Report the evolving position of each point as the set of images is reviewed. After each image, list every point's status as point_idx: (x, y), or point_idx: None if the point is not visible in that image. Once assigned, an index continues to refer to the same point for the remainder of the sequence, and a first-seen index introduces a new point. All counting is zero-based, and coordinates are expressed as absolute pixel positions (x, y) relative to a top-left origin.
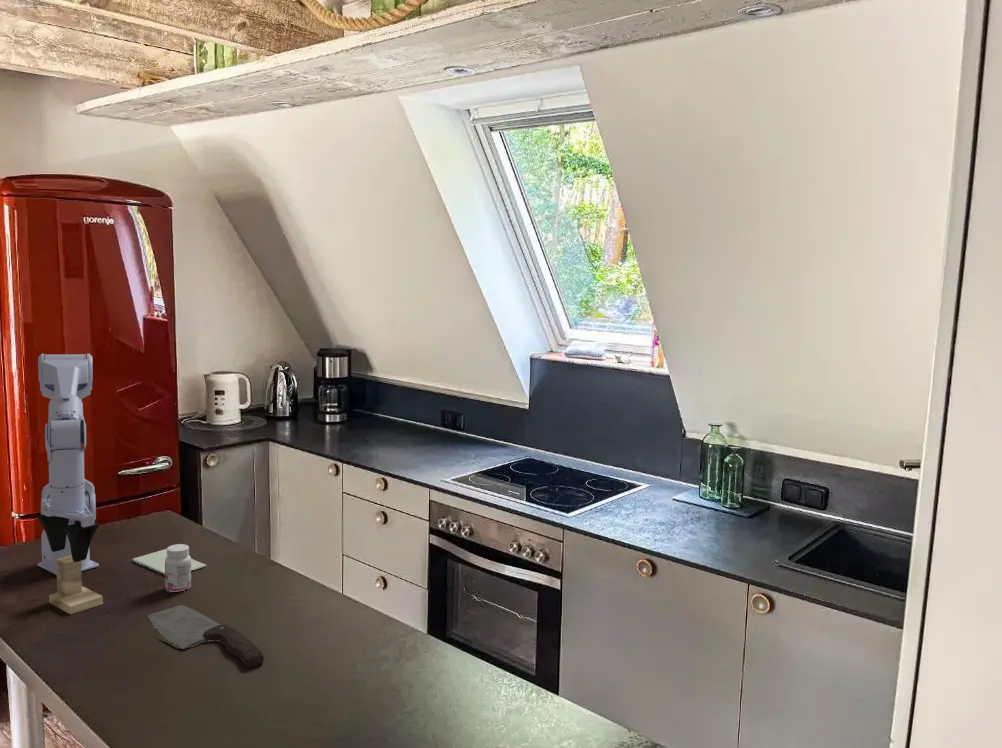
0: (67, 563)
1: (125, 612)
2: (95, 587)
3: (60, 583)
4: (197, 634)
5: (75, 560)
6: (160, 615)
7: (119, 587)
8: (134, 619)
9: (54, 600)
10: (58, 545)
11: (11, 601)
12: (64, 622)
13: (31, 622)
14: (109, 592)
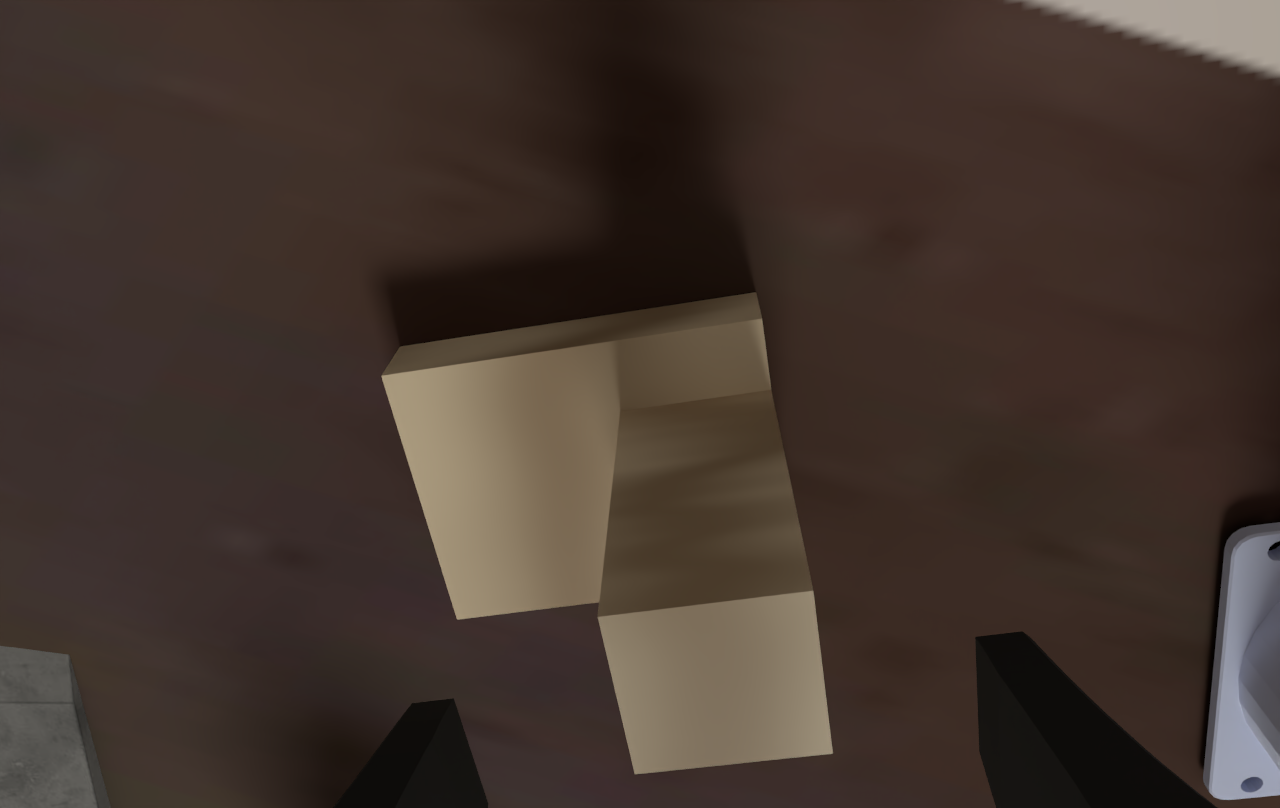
0: (605, 635)
1: (226, 633)
2: (823, 641)
3: (713, 450)
4: None
5: (397, 723)
6: (19, 759)
7: None
8: (74, 633)
9: (665, 324)
10: (1003, 750)
11: (1037, 33)
12: (262, 259)
13: (411, 37)
14: None
